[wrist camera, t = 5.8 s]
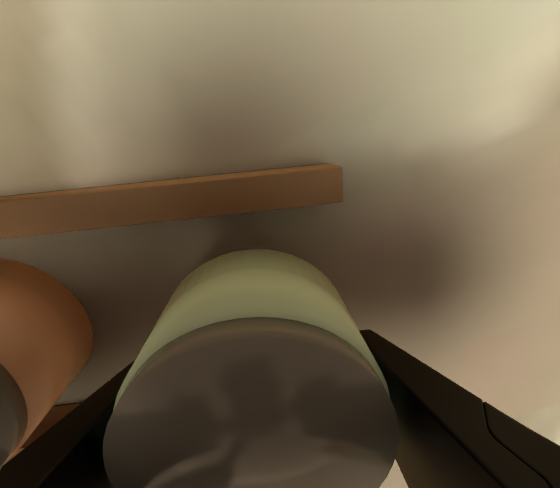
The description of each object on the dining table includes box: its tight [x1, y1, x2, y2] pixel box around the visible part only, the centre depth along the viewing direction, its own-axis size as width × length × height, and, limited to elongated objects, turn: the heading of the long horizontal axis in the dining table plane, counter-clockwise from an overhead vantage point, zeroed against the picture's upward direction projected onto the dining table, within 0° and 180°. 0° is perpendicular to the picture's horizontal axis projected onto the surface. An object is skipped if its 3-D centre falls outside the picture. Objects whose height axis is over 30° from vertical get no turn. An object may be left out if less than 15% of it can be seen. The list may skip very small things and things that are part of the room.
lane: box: [0, 164, 343, 468], centre depth 10 cm, size 10×23×3 cm, turn 95°
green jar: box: [103, 249, 399, 488], centre depth 8 cm, size 6×6×4 cm
